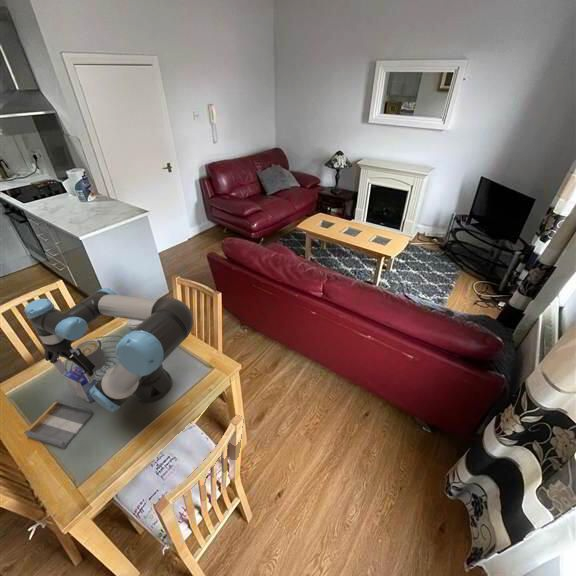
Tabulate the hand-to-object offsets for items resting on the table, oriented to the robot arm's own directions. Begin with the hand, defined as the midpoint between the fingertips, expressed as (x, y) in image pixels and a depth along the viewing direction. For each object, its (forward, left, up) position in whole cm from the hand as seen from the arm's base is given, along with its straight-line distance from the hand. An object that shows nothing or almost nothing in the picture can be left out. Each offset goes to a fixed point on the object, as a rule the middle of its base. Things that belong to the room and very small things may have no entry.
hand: (77, 376), depth 120 cm
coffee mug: (+10, -16, -11) cm, 22 cm away
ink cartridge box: (0, 0, -11) cm, 11 cm away
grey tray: (-1, +14, -11) cm, 18 cm away
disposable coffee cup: (-4, -33, -11) cm, 35 cm away
